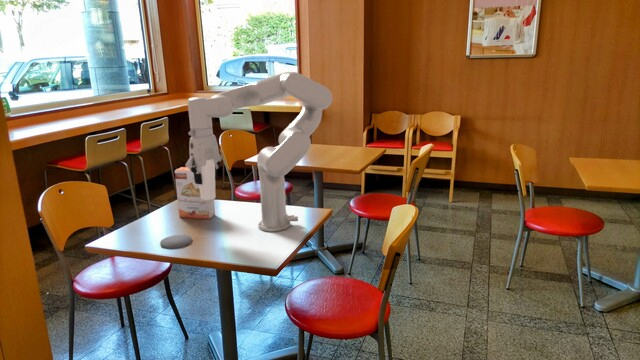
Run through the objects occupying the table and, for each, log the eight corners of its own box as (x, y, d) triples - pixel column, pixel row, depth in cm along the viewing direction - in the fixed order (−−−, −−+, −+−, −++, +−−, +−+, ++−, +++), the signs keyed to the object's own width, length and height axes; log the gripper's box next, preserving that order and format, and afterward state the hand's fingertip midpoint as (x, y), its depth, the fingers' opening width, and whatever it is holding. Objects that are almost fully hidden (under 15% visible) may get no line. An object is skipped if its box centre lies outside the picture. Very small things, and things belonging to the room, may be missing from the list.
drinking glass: (218, 200, 161) (215, 159, 157) (199, 202, 158) (195, 161, 154) (216, 195, 167) (212, 156, 163) (197, 197, 164) (193, 157, 161)
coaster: (193, 235, 167) (193, 233, 167) (189, 247, 156) (189, 245, 156) (163, 238, 165) (163, 236, 165) (157, 249, 155) (157, 247, 155)
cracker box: (178, 217, 187) (173, 169, 182) (186, 213, 193) (181, 166, 187) (209, 219, 184) (204, 171, 178) (215, 215, 189) (211, 167, 184)
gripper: (188, 137, 147) (193, 188, 152) (227, 130, 161) (231, 177, 165) (174, 135, 152) (180, 185, 156) (214, 128, 165) (218, 175, 170)
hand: (206, 181), depth 161 cm, fingers closed on drinking glass, 6 cm apart
